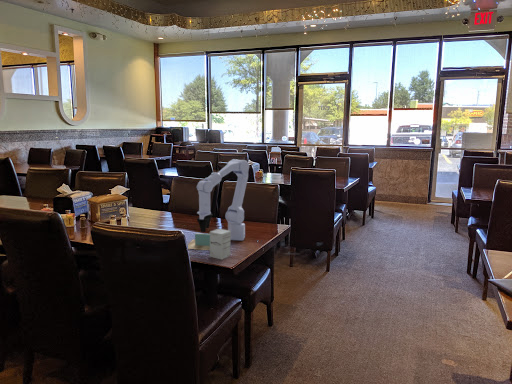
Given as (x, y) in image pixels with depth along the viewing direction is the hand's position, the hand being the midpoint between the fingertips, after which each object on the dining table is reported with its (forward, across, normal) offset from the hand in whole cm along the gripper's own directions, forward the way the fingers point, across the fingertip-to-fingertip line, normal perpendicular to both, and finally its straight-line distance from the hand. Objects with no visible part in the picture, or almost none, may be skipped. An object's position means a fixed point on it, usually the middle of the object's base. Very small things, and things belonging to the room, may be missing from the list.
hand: (205, 229), depth 194 cm
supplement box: (+9, +15, +11) cm, 21 cm away
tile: (+8, 0, 0) cm, 8 cm away
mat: (+9, -1, -1) cm, 9 cm away
